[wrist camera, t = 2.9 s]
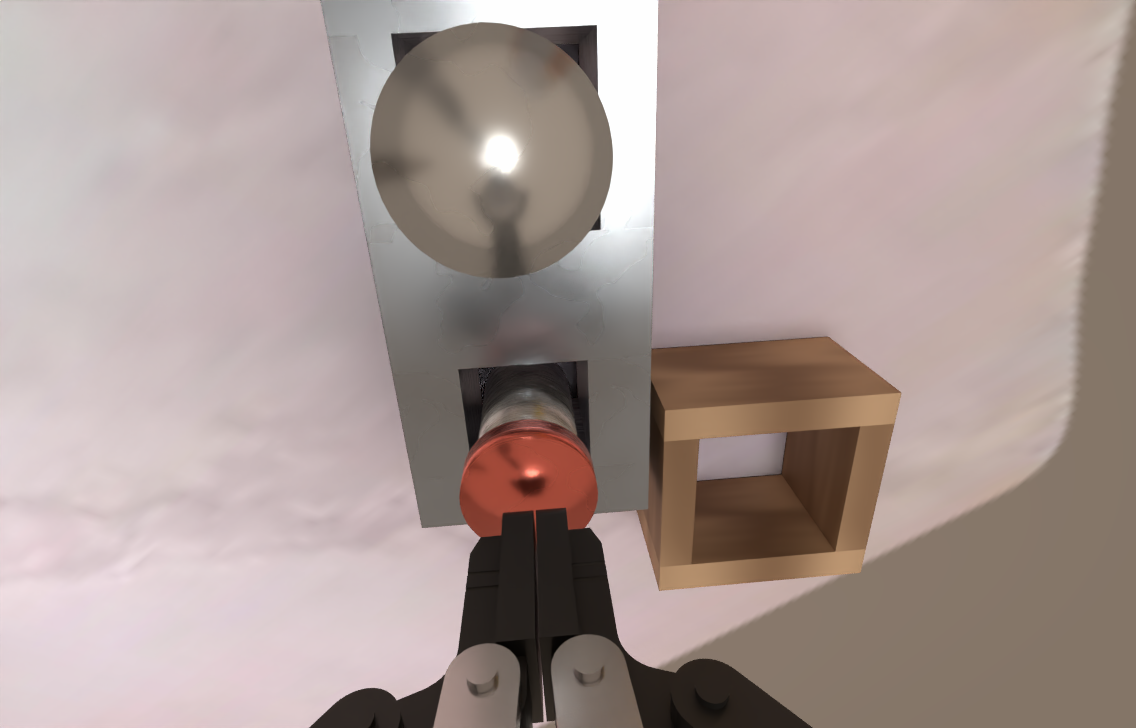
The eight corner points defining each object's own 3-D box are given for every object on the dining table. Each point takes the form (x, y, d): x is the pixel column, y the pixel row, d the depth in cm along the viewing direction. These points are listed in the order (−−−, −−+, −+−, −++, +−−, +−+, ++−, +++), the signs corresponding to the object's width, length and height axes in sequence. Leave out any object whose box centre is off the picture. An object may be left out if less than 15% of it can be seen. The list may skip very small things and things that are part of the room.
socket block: (440, 448, 24) (422, 527, 20) (369, 16, 18) (317, -13, 13) (625, 434, 25) (648, 509, 20) (624, 5, 18) (658, -27, 14)
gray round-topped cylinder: (456, 194, 20) (392, 285, 10) (441, 67, 18) (346, 27, 9) (569, 188, 20) (614, 271, 10) (564, 61, 19) (611, 16, 9)
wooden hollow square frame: (635, 507, 27) (659, 590, 22) (637, 350, 23) (665, 410, 19) (803, 493, 27) (860, 572, 22) (828, 336, 24) (901, 392, 19)
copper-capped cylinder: (481, 439, 21) (468, 557, 16) (470, 349, 19) (450, 445, 14) (579, 431, 21) (599, 546, 16) (575, 342, 20) (596, 434, 14)
